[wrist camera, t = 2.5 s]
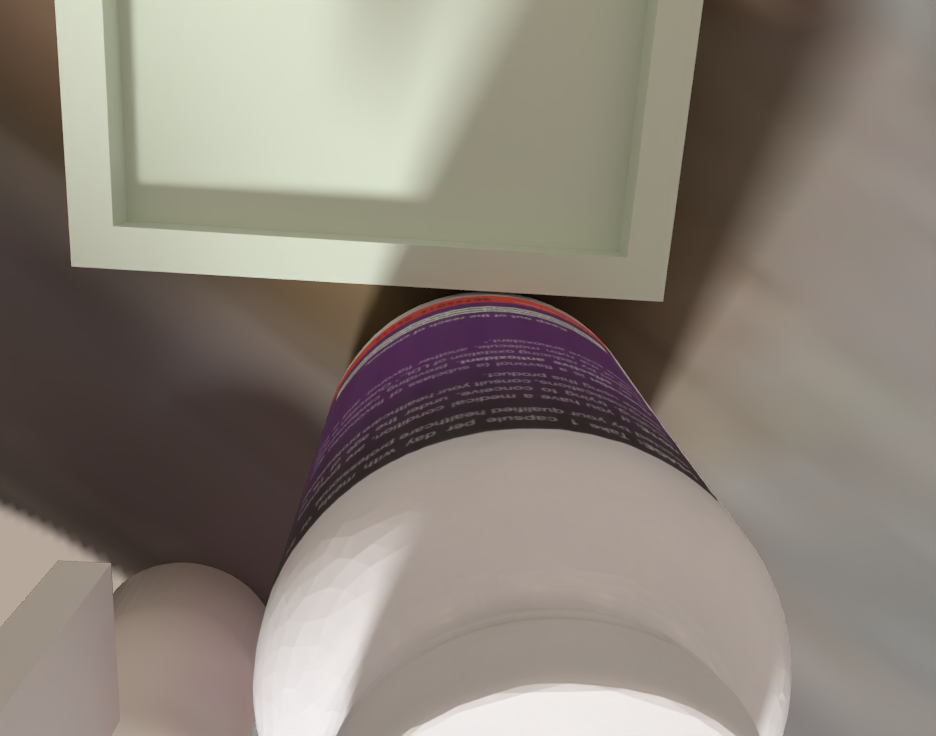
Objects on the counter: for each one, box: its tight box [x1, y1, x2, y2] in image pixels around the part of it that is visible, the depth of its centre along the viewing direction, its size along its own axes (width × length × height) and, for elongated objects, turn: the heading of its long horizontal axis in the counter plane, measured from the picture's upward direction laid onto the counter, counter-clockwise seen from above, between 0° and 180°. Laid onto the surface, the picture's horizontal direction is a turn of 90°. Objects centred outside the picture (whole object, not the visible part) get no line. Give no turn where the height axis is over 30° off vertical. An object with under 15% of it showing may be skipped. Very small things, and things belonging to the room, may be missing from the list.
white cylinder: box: [112, 563, 266, 736], centre depth 22 cm, size 5×5×6 cm
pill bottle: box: [253, 292, 792, 736], centre depth 16 cm, size 8×8×14 cm
